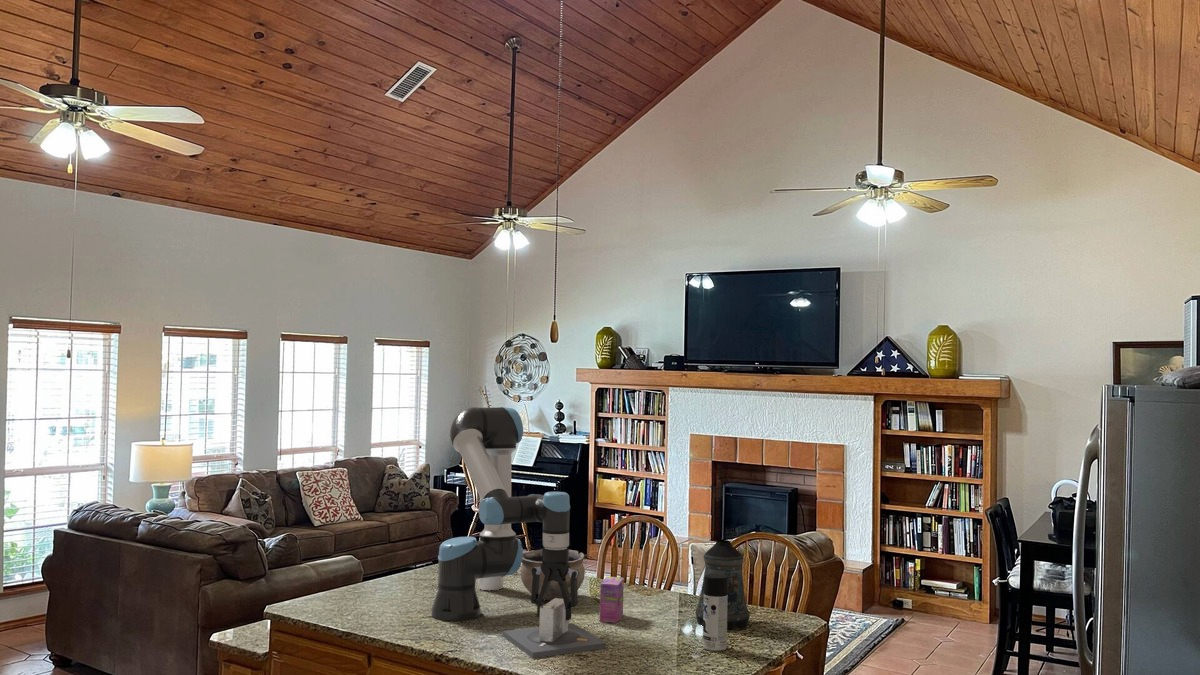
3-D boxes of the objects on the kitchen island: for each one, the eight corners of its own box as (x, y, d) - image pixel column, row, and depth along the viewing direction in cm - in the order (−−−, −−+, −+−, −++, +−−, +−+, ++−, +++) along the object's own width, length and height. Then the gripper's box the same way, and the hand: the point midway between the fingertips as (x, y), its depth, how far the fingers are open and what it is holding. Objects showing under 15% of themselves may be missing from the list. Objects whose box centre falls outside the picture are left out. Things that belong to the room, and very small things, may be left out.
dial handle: (554, 629, 256) (555, 596, 257) (567, 631, 255) (568, 597, 255) (539, 640, 245) (539, 605, 245) (552, 642, 243) (553, 607, 244)
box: (617, 623, 270) (618, 584, 271) (599, 622, 272) (600, 583, 272) (623, 615, 281) (624, 577, 281) (605, 613, 282) (606, 576, 282)
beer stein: (713, 633, 262) (714, 547, 263) (681, 616, 280) (682, 536, 281) (760, 627, 269) (761, 544, 270) (726, 612, 286) (727, 534, 288)
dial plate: (502, 636, 254) (503, 630, 255) (572, 628, 264) (572, 622, 264) (532, 658, 235) (532, 651, 235) (606, 648, 245) (606, 642, 245)
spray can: (700, 644, 250) (701, 573, 251) (724, 644, 250) (725, 573, 252) (705, 652, 243) (706, 578, 244) (729, 651, 244) (730, 578, 245)
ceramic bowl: (596, 597, 303) (597, 553, 304) (560, 610, 285) (561, 563, 285) (544, 588, 315) (545, 545, 316) (506, 600, 296) (507, 555, 297)
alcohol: (478, 585, 317) (480, 501, 318) (502, 585, 318) (505, 501, 319) (477, 591, 308) (479, 504, 310) (503, 591, 309) (505, 504, 310)
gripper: (519, 547, 250) (517, 630, 249) (583, 552, 244) (581, 637, 243) (529, 542, 257) (527, 623, 256) (591, 547, 252) (590, 630, 250)
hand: (553, 630), depth 250 cm, fingers open, 6 cm apart
